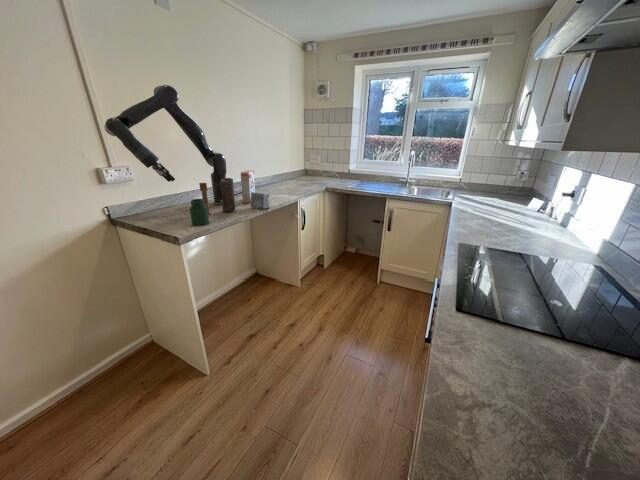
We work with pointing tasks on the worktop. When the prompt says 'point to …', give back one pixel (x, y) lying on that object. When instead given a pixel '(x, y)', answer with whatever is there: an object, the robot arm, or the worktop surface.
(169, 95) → the robot arm
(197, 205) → the bottle
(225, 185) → the candle
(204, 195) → the wooden spoon
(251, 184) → the cracker box
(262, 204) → the incense holder
